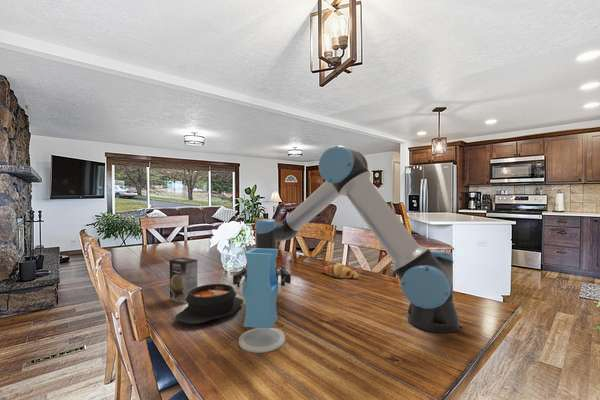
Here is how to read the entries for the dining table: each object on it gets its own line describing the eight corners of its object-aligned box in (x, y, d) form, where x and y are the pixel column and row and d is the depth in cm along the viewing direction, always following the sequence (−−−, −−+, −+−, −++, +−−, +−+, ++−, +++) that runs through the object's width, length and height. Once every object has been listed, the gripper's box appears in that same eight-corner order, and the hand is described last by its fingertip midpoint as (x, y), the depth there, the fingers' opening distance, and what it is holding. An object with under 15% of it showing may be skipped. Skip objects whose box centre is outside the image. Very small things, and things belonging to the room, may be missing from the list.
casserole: (218, 298, 115) (218, 277, 115) (255, 306, 106) (255, 284, 106) (162, 322, 93) (161, 296, 93) (201, 335, 84) (201, 306, 84)
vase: (270, 329, 76) (270, 254, 76) (243, 326, 77) (242, 253, 77) (278, 316, 84) (278, 249, 83) (253, 314, 85) (253, 248, 85)
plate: (294, 343, 79) (293, 340, 79) (250, 358, 71) (250, 354, 71) (271, 325, 90) (271, 323, 90) (231, 337, 82) (231, 334, 82)
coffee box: (169, 300, 112) (168, 259, 112) (182, 295, 118) (182, 256, 118) (185, 304, 108) (184, 262, 108) (198, 299, 114) (197, 258, 114)
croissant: (360, 284, 142) (363, 269, 145) (353, 279, 135) (356, 263, 138) (324, 277, 154) (327, 263, 157) (315, 272, 147) (319, 257, 150)
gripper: (296, 277, 99) (301, 300, 77) (232, 278, 98) (218, 303, 75) (296, 255, 99) (301, 272, 77) (231, 256, 97) (217, 274, 75)
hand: (260, 287), depth 76 cm, fingers closed on vase, 9 cm apart
